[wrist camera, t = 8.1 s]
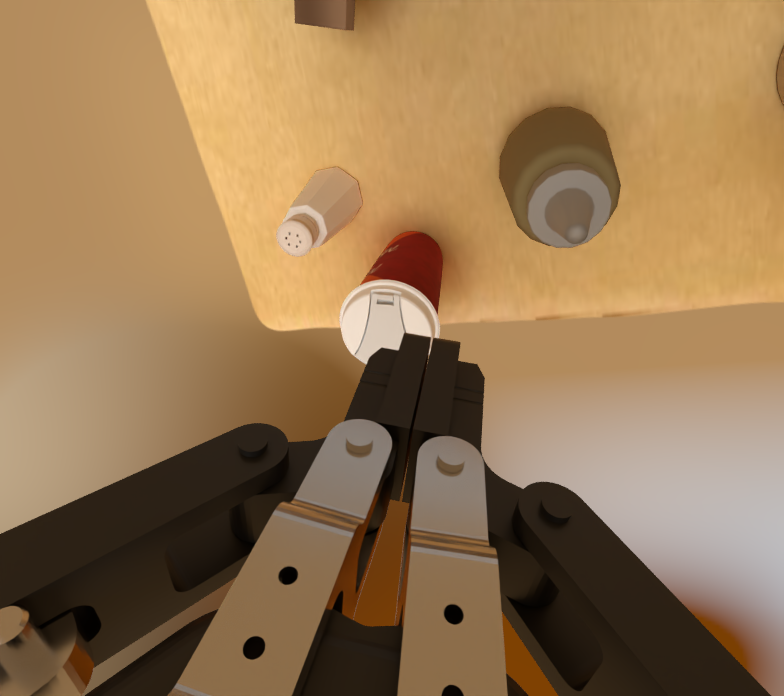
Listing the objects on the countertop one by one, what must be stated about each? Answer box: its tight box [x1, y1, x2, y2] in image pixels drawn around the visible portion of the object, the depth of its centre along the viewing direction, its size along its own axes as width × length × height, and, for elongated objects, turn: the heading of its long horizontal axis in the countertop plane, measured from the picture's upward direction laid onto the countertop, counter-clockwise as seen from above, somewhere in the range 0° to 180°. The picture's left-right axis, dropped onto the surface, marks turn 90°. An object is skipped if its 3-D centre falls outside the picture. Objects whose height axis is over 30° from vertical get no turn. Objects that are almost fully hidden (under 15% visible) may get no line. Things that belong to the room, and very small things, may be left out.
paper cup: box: [340, 231, 443, 364], centre depth 42 cm, size 8×8×14 cm
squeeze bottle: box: [499, 107, 621, 248], centre depth 33 cm, size 8×8×18 cm
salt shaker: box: [276, 167, 363, 256], centre depth 41 cm, size 5×5×11 cm
